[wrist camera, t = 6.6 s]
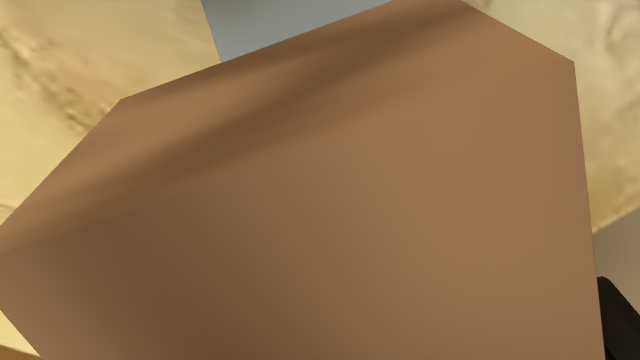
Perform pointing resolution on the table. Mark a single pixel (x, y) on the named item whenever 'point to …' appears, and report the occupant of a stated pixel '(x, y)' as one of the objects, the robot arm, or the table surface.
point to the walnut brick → (324, 206)
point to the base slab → (272, 20)
